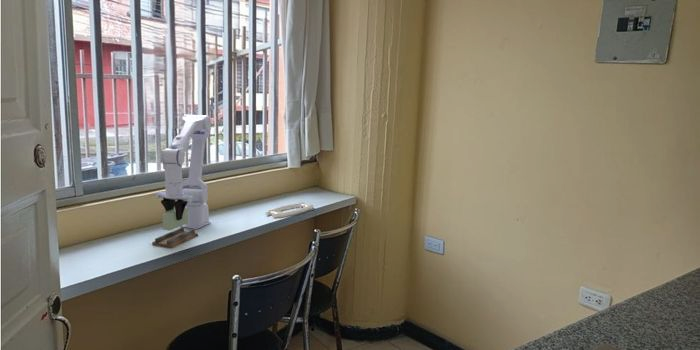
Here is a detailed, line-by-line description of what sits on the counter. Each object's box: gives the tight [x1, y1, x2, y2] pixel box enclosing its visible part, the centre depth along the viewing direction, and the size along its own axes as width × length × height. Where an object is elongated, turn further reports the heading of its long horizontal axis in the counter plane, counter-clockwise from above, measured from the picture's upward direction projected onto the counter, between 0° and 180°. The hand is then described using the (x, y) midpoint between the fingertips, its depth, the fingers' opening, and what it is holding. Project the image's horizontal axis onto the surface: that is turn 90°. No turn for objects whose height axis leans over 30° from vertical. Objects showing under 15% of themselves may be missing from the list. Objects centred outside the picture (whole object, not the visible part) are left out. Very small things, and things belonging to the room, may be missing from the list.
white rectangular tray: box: [264, 201, 314, 219], centre depth 220 cm, size 3×10×25 cm
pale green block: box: [161, 207, 188, 232], centre depth 176 cm, size 10×3×6 cm, turn 161°
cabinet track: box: [151, 227, 199, 249], centre depth 177 cm, size 15×8×2 cm, turn 161°
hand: (175, 219), depth 176 cm, fingers closed on pale green block, 3 cm apart
